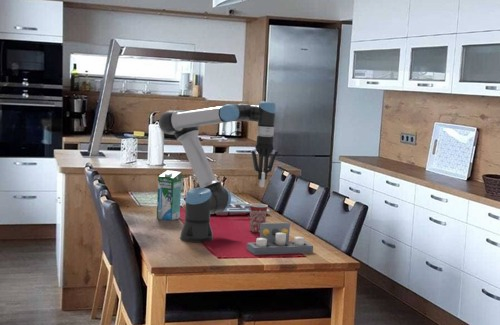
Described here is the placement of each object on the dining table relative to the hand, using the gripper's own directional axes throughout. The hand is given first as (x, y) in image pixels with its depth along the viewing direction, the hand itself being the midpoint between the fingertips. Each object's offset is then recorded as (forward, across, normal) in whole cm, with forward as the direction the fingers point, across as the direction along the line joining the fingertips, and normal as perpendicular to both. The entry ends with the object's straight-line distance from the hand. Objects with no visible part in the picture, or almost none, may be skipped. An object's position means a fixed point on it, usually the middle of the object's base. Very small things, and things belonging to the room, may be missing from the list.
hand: (261, 186), depth 307 cm
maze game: (+28, +10, +71) cm, 77 cm away
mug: (+27, +8, +26) cm, 38 cm away
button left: (+25, -4, -18) cm, 31 cm away
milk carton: (+28, -32, +56) cm, 70 cm away
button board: (+27, +5, -17) cm, 32 cm away
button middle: (+23, +5, -17) cm, 29 cm away
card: (+27, +4, -10) cm, 29 cm away
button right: (+25, +14, -17) cm, 33 cm away
